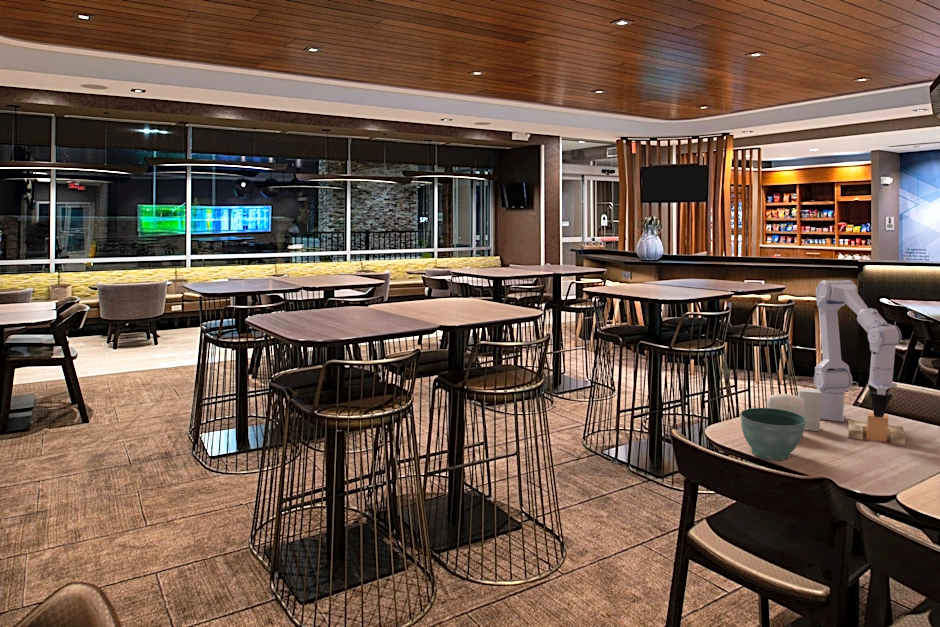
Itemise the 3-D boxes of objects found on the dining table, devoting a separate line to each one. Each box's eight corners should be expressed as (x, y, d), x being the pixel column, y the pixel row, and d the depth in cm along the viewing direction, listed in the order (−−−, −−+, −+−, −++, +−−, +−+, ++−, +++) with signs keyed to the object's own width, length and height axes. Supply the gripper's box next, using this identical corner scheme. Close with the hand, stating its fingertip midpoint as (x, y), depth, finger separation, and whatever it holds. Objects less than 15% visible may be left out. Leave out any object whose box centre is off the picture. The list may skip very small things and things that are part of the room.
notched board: (848, 438, 202) (849, 429, 201) (848, 427, 211) (848, 419, 211) (904, 445, 195) (905, 436, 195) (901, 434, 205) (902, 426, 205)
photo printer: (801, 434, 205) (804, 393, 204) (803, 438, 201) (806, 397, 200) (763, 431, 208) (766, 391, 207) (765, 435, 204) (767, 394, 203)
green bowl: (803, 469, 178) (806, 428, 176) (736, 459, 184) (738, 420, 183) (802, 449, 192) (805, 411, 191) (740, 441, 199) (742, 405, 197)
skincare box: (817, 427, 212) (820, 389, 210) (819, 431, 208) (822, 392, 206) (795, 425, 214) (798, 387, 212) (797, 429, 210) (799, 391, 208)
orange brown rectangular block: (866, 439, 201) (868, 415, 200) (865, 436, 204) (867, 413, 203) (886, 441, 199) (888, 418, 198) (885, 438, 201) (887, 415, 200)
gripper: (900, 374, 190) (895, 421, 192) (896, 363, 203) (892, 408, 205) (870, 371, 193) (866, 418, 195) (868, 361, 206) (864, 405, 208)
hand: (877, 413), depth 200 cm, fingers open, 7 cm apart
